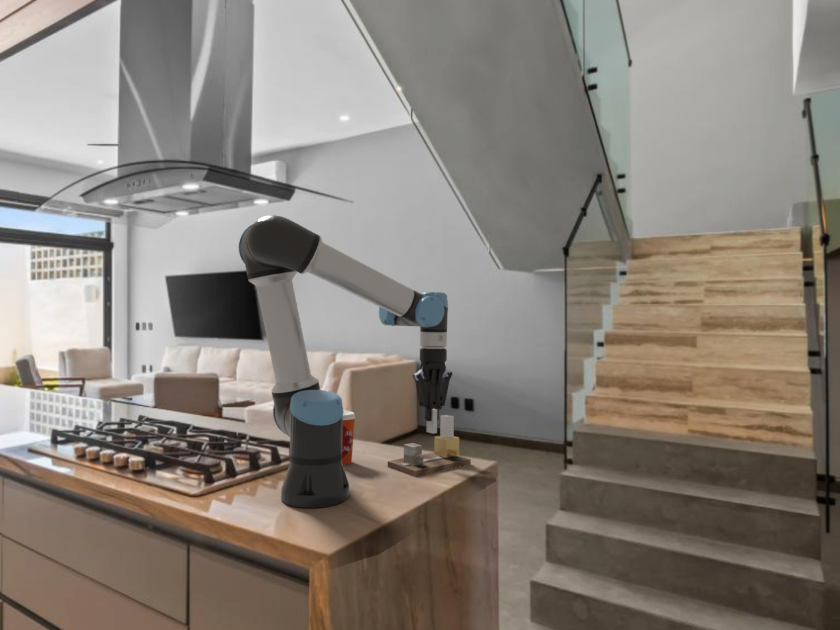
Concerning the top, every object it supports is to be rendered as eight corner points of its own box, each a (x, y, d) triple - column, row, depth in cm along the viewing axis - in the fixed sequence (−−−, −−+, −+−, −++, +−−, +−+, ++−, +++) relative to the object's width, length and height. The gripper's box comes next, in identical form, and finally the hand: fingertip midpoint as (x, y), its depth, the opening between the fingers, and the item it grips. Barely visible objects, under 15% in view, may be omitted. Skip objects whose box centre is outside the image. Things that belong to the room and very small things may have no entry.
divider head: (450, 459, 151) (451, 419, 151) (434, 454, 157) (434, 415, 157) (464, 456, 154) (464, 417, 154) (447, 451, 160) (447, 413, 160)
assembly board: (414, 476, 141) (415, 451, 141) (387, 466, 151) (387, 442, 151) (470, 464, 154) (470, 441, 154) (442, 455, 163) (442, 433, 163)
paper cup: (353, 466, 150) (353, 415, 150) (325, 466, 150) (325, 415, 150) (357, 459, 158) (357, 410, 158) (330, 459, 158) (331, 410, 158)
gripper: (424, 348, 146) (422, 437, 146) (459, 347, 154) (458, 432, 154) (406, 347, 152) (404, 432, 152) (441, 346, 160) (440, 427, 160)
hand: (431, 432), depth 153 cm, fingers closed
